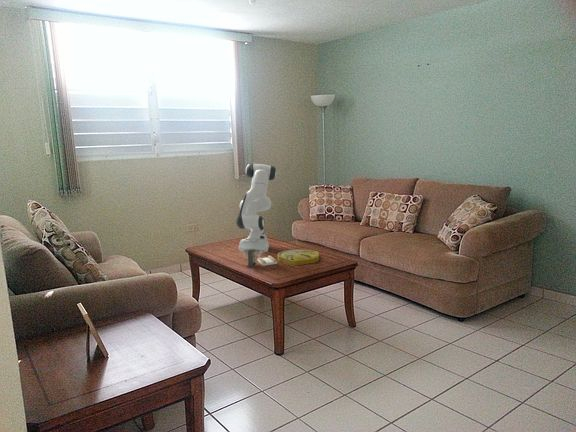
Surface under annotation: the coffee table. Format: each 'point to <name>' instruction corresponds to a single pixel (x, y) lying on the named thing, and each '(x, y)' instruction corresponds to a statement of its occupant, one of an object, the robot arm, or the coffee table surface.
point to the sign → (298, 256)
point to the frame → (251, 258)
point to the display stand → (267, 260)
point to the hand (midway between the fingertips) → (251, 256)
